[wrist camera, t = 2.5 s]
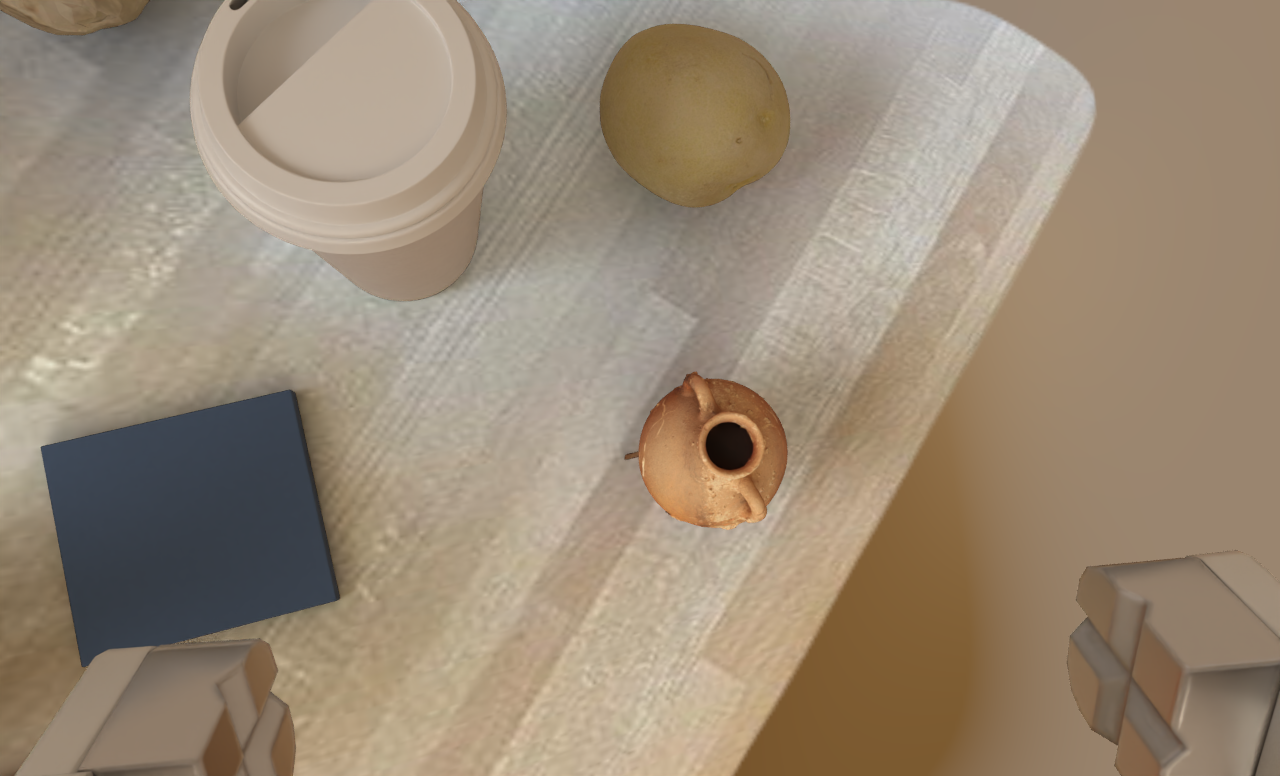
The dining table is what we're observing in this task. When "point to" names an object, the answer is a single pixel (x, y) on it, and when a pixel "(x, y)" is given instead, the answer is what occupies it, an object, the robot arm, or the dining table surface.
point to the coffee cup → (354, 131)
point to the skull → (73, 14)
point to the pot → (712, 453)
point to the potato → (693, 113)
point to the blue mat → (189, 525)
